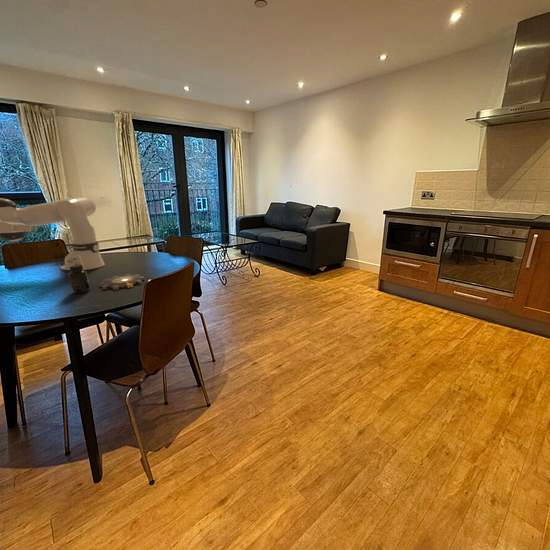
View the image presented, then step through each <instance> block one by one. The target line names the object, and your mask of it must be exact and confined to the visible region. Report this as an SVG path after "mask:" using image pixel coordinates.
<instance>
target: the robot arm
mask: <svg viewBox="0 0 550 550" xmlns="http://www.w3.org/2000/svg"><path fill="white" fill-rule="evenodd" d="M18 206H20V204H19V203H15V202H14V201H12V200H11V199H8V198H3V197H2V198H0V239H1V240H3V241H6V242H13V243H15V242H19V241H22V240H23V239H25V238H26V237H27V232H29V233H30V232H36V231H38V230H37V227H36V226H44V225H52V224H56V223H62V222H66V223H67V225H68V228H69V229H70V232H71V236H72V240H73V244H71V245H70V248H72V250H71V252H70V253H68V254H67V255H66V256H65V258H64V265H62V266H61V267H60V269H61V270H64V271H70V268H69V267H70V266H73V265H82V267H83V270H84V271H87V270H92V269H93V270H94V269H97V268H98V269H99V268H101V267H104V266H105V265H106V264H105V262H104V260H103V257H102V255H101V252H100V246H99V241H98V240H97V235H96V232H95V231H96V230H95V228H94V226H92V224H91V223H90V221H89V219H88V217H90V216H92V215H93V214H94V213H95V212H96V209H97V207H96V203H95V202H94V201H93V200H92V199H90V198H88V197H84V196H78V197H70V198H69V197H68V198H65V199H61V200H55V201H49V202H45V203H43V202H42V203H38V204H34V205H29V206H26V207H21V208H19V207H18Z"/></svg>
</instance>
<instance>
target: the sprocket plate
mask: <svg viewBox="0 0 550 550" xmlns="http://www.w3.org/2000/svg"><path fill="white" fill-rule="evenodd" d="M142 280H144V281H145V276H142V275H141V274H131V273H130V274H124V275H114V276H112V277H110V278H105V279H104V280H102V282H100V283H99V287H100V288H102V290H104V289H106V291H107V289H108V290H113V291H120V289H125V287H126V288H127V289H130V287H131V288H133V287H134V286H136V285H141V284H143V283H142V282H143V281H142ZM135 284H136V285H135ZM133 285H134V286H133Z"/></svg>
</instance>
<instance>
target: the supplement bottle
mask: <svg viewBox="0 0 550 550" xmlns="http://www.w3.org/2000/svg"><path fill="white" fill-rule="evenodd" d="M69 268H70V270H69V271H70V272H69V273H68V279H69V283H70V286H71V291H72V293H73V294H75V293H80V294H85V293H87V291H88V292H89V290H90V291H91V286H90V282H89V277H88V273H87V270H83V267H82V265H73V266H70V267H69ZM84 292H85V293H84Z"/></svg>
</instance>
